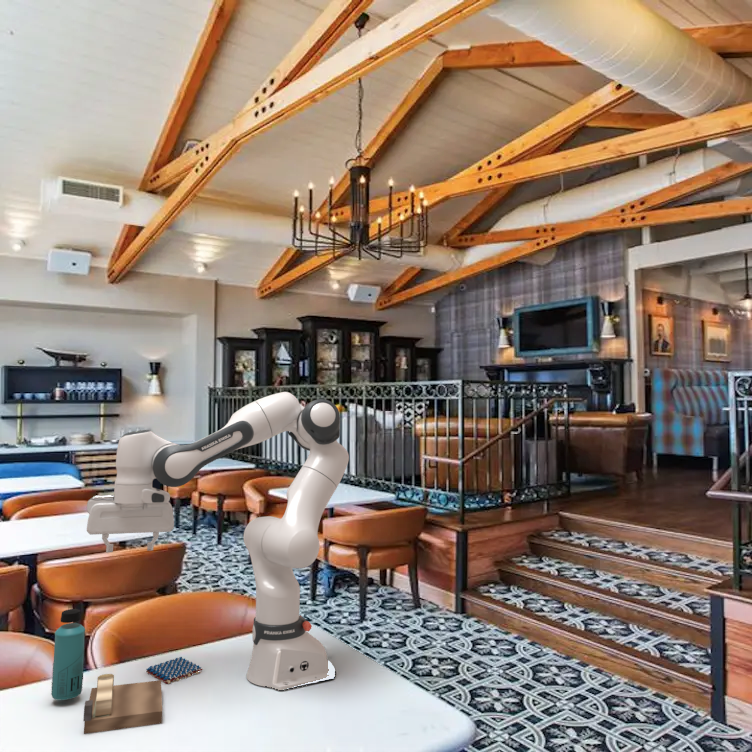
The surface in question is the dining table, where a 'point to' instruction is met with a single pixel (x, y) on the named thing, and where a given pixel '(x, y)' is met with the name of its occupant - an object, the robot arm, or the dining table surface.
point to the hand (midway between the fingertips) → (130, 551)
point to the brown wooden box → (126, 707)
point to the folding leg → (104, 694)
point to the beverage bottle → (68, 657)
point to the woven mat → (173, 670)
